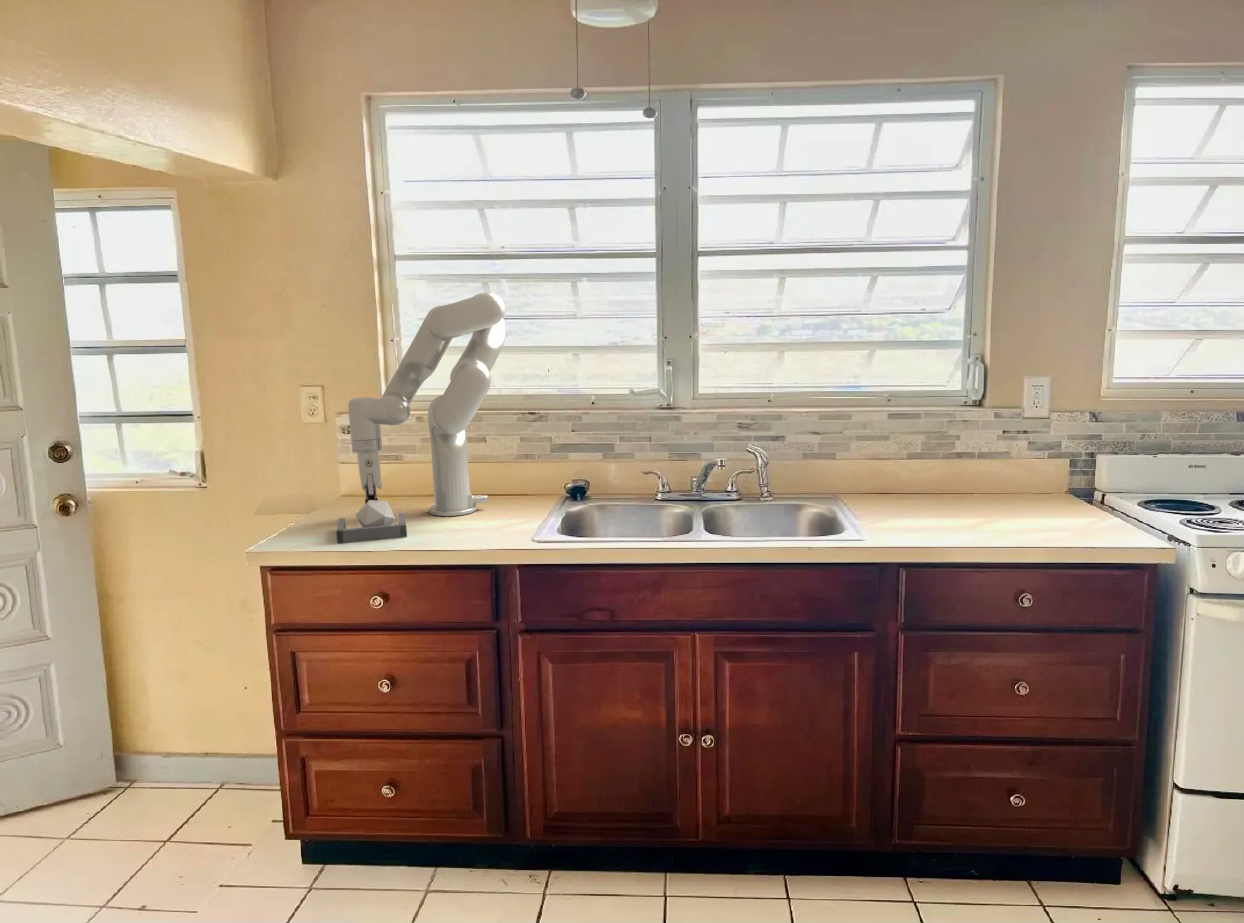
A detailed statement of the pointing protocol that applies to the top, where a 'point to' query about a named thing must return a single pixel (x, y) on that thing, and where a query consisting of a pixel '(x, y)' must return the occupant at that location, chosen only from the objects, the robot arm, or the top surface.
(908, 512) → the top surface
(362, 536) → the bay
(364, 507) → the die
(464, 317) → the robot arm
